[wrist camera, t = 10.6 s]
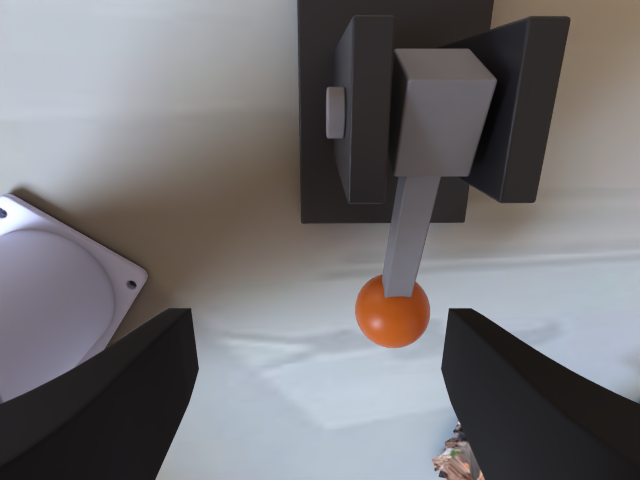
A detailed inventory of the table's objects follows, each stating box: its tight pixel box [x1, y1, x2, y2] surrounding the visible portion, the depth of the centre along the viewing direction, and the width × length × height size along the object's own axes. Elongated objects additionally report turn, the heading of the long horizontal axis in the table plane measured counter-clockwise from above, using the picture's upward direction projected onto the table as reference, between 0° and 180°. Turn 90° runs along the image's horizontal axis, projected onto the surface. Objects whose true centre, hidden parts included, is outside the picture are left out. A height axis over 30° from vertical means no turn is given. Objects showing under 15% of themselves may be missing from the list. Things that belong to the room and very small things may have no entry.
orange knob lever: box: [355, 49, 497, 348], centre depth 15 cm, size 12×3×3 cm, turn 179°
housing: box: [297, 0, 570, 223], centre depth 14 cm, size 11×8×10 cm
